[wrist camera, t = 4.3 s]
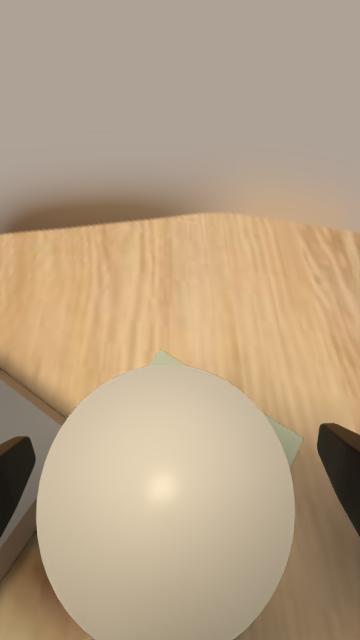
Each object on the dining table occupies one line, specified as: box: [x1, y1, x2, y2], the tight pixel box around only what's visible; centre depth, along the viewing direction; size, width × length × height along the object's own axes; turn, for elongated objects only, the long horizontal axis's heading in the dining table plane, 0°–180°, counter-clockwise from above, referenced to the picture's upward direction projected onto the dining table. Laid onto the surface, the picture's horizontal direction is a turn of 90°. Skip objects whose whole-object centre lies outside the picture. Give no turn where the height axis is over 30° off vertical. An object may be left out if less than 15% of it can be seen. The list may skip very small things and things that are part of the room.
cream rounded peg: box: [36, 365, 295, 640], centre depth 11 cm, size 5×5×11 cm
